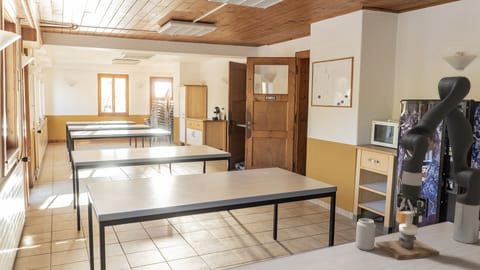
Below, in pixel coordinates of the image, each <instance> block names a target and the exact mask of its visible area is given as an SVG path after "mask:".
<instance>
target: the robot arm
mask: <svg viewBox="0 0 480 270" xmlns="http://www.w3.org/2000/svg"><path fill="white" fill-rule="evenodd" d="M471 88H472V86H471V81H470V79H469V78H468V77H466V76H461V75H460V76H459V75H457V76H446V77H442V78H441V79H439V82H438V84H437V93H438V96H439V100H440V101H439V103H436V104H435V105H433V106H432V107H431V108H429V109H428V110H427V111H426V112H425V113H424V114H423V115H422V117H421V118H420V120H419V121H418V122H417V123H416V124H415V125H414V126H412V127H411V128H410V129H408V131H406V132H405V133H404V134H403V136H402V137H401V141H400V145H401V148H402V149H403V150H405V151H409V152H413V153H412V156H406V157H405V158H404V160H403V168H402V169H403V170H402V176H401V185H400V186H401V187H400V193H396V207H397V208H398V209H399V212H400V211H401V212H403V211H407V209H408V208H409V209H410V211H412V213H413V221H412V223H411V225H415V226H418V225H419V223H420V222H419V216H422V217H423V216H425V215H424V214H425V207H426V202H425V200H424V201H423V200H420V196H421V195H422V188H423V187H422V186H423V164H424V161H425V158H426V155H427V153H428V150H429V147H430V143H429V139H428V137H429V136H432V135H433V134H434V133H435V131H436V130H437V128H438V127H439V125H440V124H441V123H442V121H443V120H444V119H445V123H446V130H447V134H448V141H449V145H450V151H451V152H450V153H451V159H452V160H451V161H452V173H453V181H454V183H455V184H457V186H459V187H463V188H466V192H465V193H460V194H457V195H456V197H455V198H456V199H455V210H454V212H455V213H454V222H453V223H454V224H453V230H452V231H453V232H452V239H454V240H455V241H457V242H461V243H465V244H476V243H478V242H479V236H480V220H479V217H480V169H478V168H476V167H475V168H473V167H470V166H468V163H467V155H468V152H469V151H470V148H471V147H472V144H473V142H474V135H473V128H472V125H471V123H470V121H469V120H468V118H466V116H465V114H463V112H462V111H461V110H460V108H459V107H458V105H459V103H461V102H463V100H464V99H465V98H466V97H467V96H468V94H469V93H470V91H471ZM415 211H416V212H417V213H416V212H415ZM420 212H421V213H420Z"/></svg>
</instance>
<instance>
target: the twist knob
mask: <svg viewBox="0 0 480 270" xmlns="http://www.w3.org/2000/svg"><path fill="white" fill-rule="evenodd" d="M415 212H416V210H415ZM416 213H417V212H416ZM420 213H421V211H420ZM395 221H396V222H397V223H398V224H399V226H398V232H399V233H400V234H401V233H402V234H406V235H414V236H416V235H418V229H419V228H418V225H413V224H412V221H413V213H412V211H411V210H406V211H403V212H401V211H400V210H399V211H396V217H395ZM422 221H423V216H419V223H422Z"/></svg>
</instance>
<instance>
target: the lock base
mask: <svg viewBox="0 0 480 270" xmlns="http://www.w3.org/2000/svg"><path fill="white" fill-rule="evenodd" d="M375 246H376V247H377V248H379V249H380V250H382V251H384V252H385V253H386V254H387V255H389V256H391V257H393V258H394V259H396V260H403V259H414V258H426V257H434V256H440V251H439V250H437V249H435V248H434V247H431V246H429V245H428V244H425V243H424V242H422V241H420V240H418V239H417V236H416V235H406V234H402V233H400V237H399V236H398V240H388V241H385V240H384V241H376V242H375Z"/></svg>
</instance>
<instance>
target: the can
mask: <svg viewBox="0 0 480 270" xmlns="http://www.w3.org/2000/svg"><path fill="white" fill-rule="evenodd" d="M376 227H377V225H376V224H375V221H374V219H371V218H367V217H362V218H359V219H358V221H357V222H356V232H355V246H356V247H357V249H358V250H361V249H362V250H361V251H372V250H373V249H374V248H375V244H376V242H375V240H376Z"/></svg>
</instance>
